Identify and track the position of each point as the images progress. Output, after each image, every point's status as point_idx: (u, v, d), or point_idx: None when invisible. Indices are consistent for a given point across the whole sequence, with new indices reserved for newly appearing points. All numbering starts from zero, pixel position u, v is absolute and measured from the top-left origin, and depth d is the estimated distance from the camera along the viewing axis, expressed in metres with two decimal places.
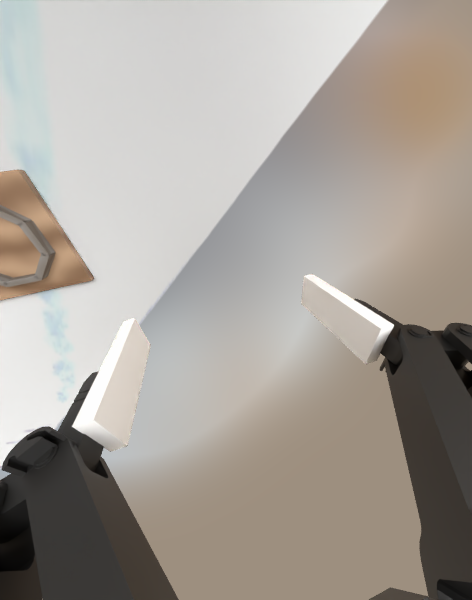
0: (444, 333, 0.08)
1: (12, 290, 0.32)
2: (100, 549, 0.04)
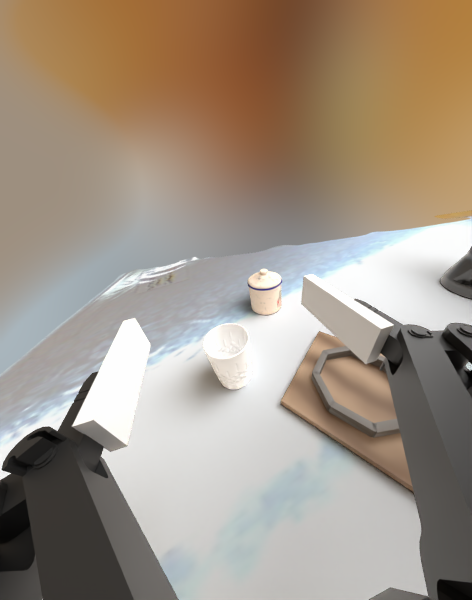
0: (444, 333, 0.08)
1: (315, 412, 0.26)
2: (100, 549, 0.04)
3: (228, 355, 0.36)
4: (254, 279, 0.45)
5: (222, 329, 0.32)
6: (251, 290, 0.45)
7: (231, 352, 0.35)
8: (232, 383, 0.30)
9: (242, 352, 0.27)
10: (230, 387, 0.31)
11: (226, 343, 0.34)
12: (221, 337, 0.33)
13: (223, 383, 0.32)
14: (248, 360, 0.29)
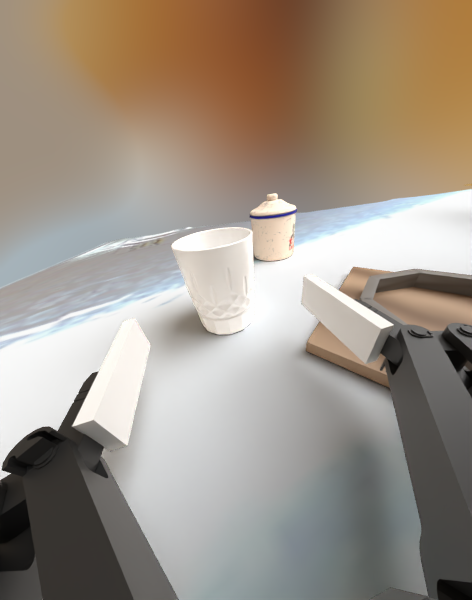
0: (444, 333, 0.08)
1: None
2: (100, 549, 0.04)
3: None
4: (259, 207, 0.33)
5: (209, 239, 0.20)
6: (254, 223, 0.33)
7: None
8: (222, 319, 0.18)
9: (239, 244, 0.14)
10: (218, 329, 0.19)
11: None
12: None
13: (207, 323, 0.19)
14: (250, 276, 0.17)
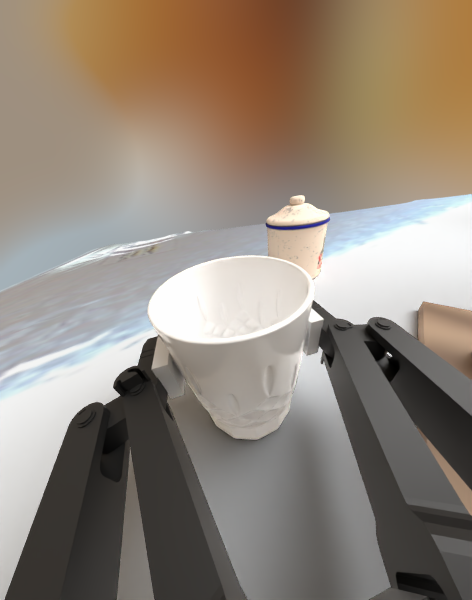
0: (367, 329, 0.09)
1: None
2: (175, 471, 0.05)
3: None
4: (279, 214, 0.25)
5: (219, 274, 0.12)
6: (273, 235, 0.25)
7: None
8: (245, 427, 0.10)
9: (300, 319, 0.06)
10: (237, 435, 0.11)
11: (227, 317, 0.14)
12: (216, 298, 0.13)
13: (218, 422, 0.11)
14: (301, 357, 0.09)
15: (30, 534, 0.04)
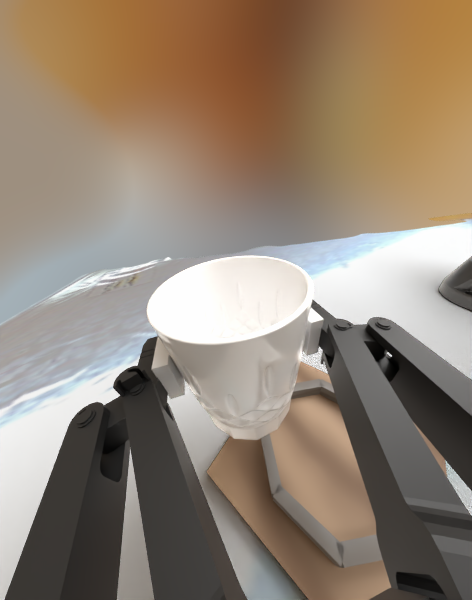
0: (367, 329, 0.09)
1: (252, 501, 0.16)
2: (174, 471, 0.05)
3: None
4: None
5: (218, 274, 0.12)
6: None
7: None
8: (244, 427, 0.10)
9: (299, 319, 0.06)
10: (237, 435, 0.11)
11: (227, 317, 0.14)
12: (215, 298, 0.13)
13: (217, 422, 0.11)
14: (300, 357, 0.09)
15: (30, 534, 0.04)
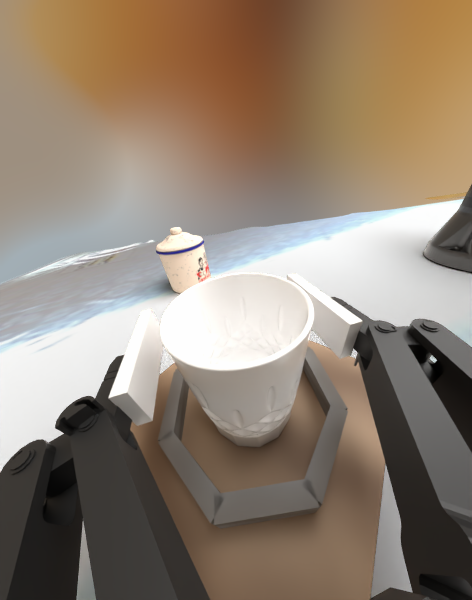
0: (409, 329, 0.09)
1: None
2: (134, 510, 0.05)
3: (234, 356, 0.16)
4: (163, 241, 0.32)
5: (223, 289, 0.13)
6: (160, 257, 0.33)
7: (241, 349, 0.16)
8: (247, 436, 0.11)
9: (300, 345, 0.07)
10: (240, 443, 0.12)
11: (231, 328, 0.15)
12: (220, 311, 0.13)
13: (221, 430, 0.12)
14: (301, 373, 0.09)
15: None
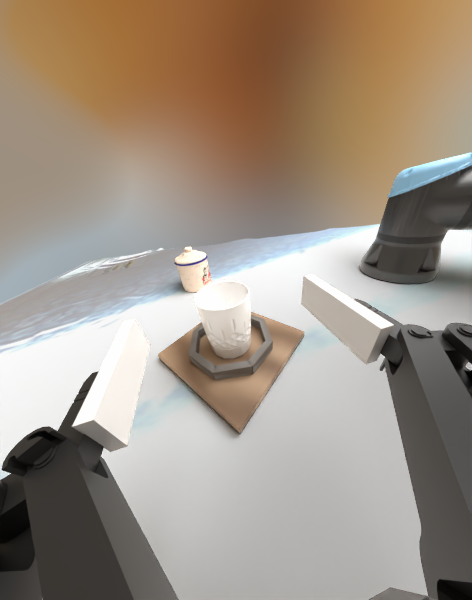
0: (444, 333, 0.08)
1: (180, 363, 0.27)
2: (100, 549, 0.04)
3: None
4: (179, 256, 0.47)
5: (218, 288, 0.28)
6: (177, 267, 0.47)
7: None
8: (227, 349, 0.25)
9: (240, 304, 0.22)
10: (225, 355, 0.26)
11: (222, 308, 0.29)
12: (216, 298, 0.28)
13: (216, 350, 0.27)
14: (247, 320, 0.24)
15: None
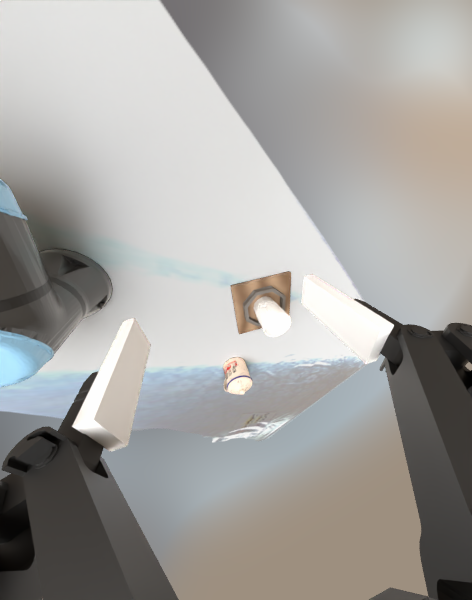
0: (444, 333, 0.08)
1: (285, 309, 0.57)
2: (100, 549, 0.04)
3: None
4: (247, 388, 0.60)
5: (269, 333, 0.48)
6: None
7: None
8: (274, 301, 0.51)
9: (279, 312, 0.44)
10: None
11: (264, 324, 0.51)
12: (268, 329, 0.49)
13: None
14: (269, 307, 0.46)
15: None
